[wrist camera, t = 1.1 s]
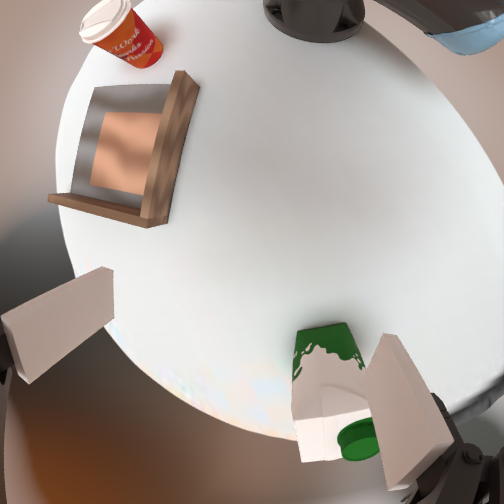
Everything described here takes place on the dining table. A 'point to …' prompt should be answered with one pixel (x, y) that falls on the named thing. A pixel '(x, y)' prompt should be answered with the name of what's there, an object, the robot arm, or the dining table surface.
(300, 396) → the milk carton
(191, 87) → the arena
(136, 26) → the paper cup
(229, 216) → the dining table surface
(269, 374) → the dining table surface
